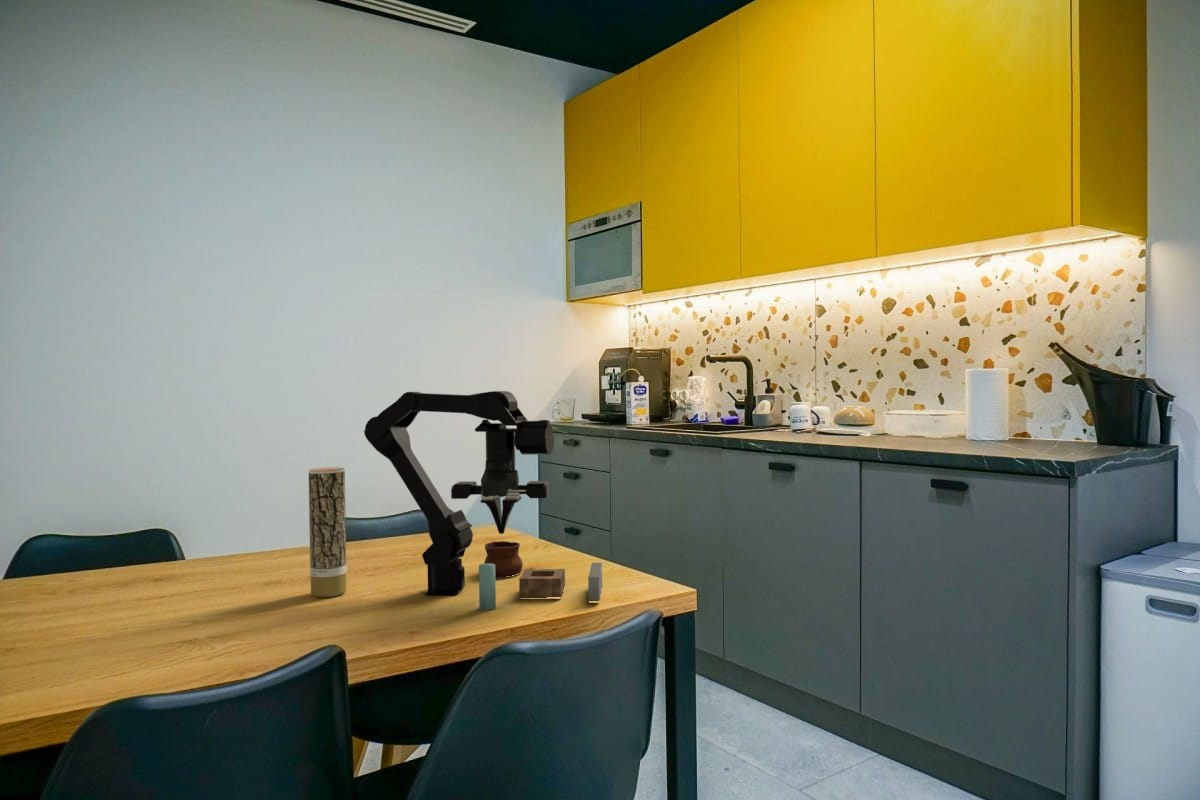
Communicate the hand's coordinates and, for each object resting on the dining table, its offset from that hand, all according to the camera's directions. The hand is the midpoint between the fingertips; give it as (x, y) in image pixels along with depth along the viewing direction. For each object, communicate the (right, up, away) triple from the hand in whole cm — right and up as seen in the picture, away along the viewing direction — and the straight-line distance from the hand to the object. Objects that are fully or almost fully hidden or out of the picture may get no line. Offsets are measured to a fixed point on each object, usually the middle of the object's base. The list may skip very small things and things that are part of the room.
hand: (501, 533), depth 151 cm
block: (+8, -12, 0) cm, 14 cm away
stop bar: (+19, -12, -2) cm, 22 cm away
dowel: (-1, -12, -10) cm, 16 cm away
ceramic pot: (-2, -13, +17) cm, 21 cm away
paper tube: (-35, -13, +2) cm, 37 cm away
